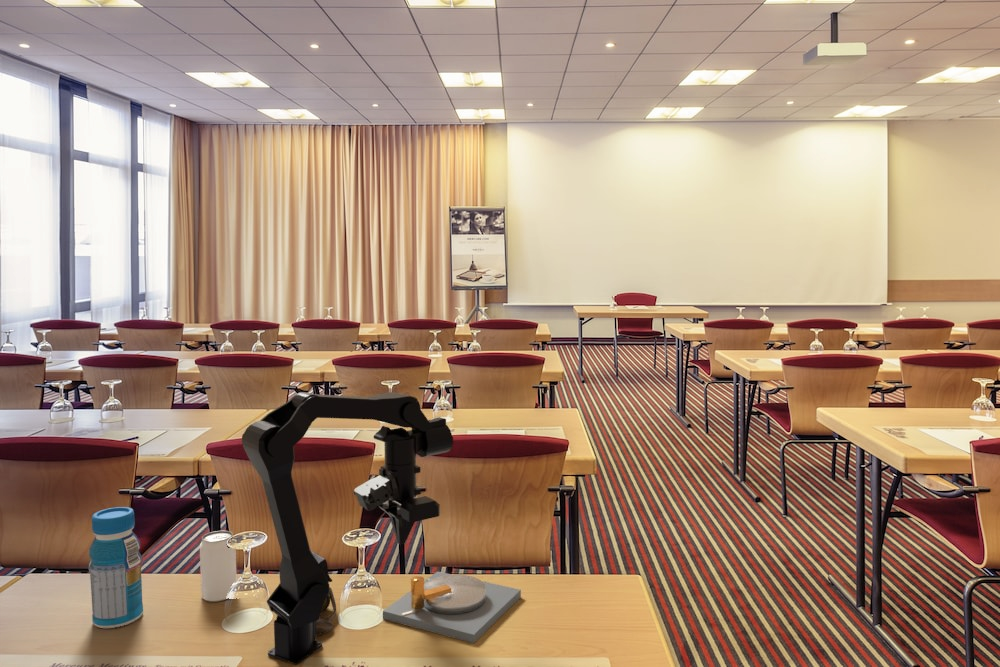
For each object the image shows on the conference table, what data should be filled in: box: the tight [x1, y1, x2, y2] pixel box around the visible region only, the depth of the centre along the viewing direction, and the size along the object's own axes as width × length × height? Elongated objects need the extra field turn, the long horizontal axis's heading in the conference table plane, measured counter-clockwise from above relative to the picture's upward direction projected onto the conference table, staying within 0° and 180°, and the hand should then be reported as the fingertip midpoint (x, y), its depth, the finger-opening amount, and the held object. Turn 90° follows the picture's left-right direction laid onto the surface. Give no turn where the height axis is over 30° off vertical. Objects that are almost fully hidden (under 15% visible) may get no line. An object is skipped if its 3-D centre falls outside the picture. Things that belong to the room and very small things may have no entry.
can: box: [199, 530, 238, 603], centre depth 136 cm, size 6×6×12 cm
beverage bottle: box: [88, 506, 144, 629], centre depth 127 cm, size 8×8×20 cm
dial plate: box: [382, 571, 522, 644], centre depth 131 cm, size 19×19×2 cm
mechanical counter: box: [316, 586, 337, 636], centre depth 127 cm, size 7×13×10 cm
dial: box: [410, 574, 486, 614], centre depth 130 cm, size 15×12×6 cm
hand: (401, 543), depth 130 cm, fingers closed
